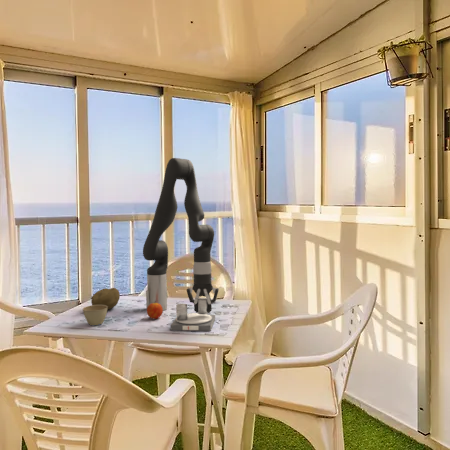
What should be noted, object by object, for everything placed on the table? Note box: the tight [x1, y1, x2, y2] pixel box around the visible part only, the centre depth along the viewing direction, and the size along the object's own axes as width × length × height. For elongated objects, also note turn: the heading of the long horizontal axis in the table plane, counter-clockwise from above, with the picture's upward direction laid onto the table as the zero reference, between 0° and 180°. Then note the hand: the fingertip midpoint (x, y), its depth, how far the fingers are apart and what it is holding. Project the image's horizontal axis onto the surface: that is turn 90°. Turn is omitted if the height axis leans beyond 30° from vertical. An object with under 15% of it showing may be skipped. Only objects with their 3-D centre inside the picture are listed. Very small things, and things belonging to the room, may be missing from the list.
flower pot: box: [82, 304, 108, 326], centre depth 174 cm, size 10×10×7 cm
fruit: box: [146, 301, 164, 320], centre depth 182 cm, size 7×7×8 cm
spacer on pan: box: [175, 303, 188, 321], centre depth 169 cm, size 4×4×6 cm
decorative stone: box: [90, 287, 121, 311], centre depth 198 cm, size 17×11×10 cm, turn 164°
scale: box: [170, 312, 216, 332], centre depth 171 cm, size 16×17×3 cm
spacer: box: [197, 297, 209, 315], centre depth 173 cm, size 4×4×6 cm
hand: (203, 312), depth 174 cm, fingers closed on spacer, 4 cm apart
